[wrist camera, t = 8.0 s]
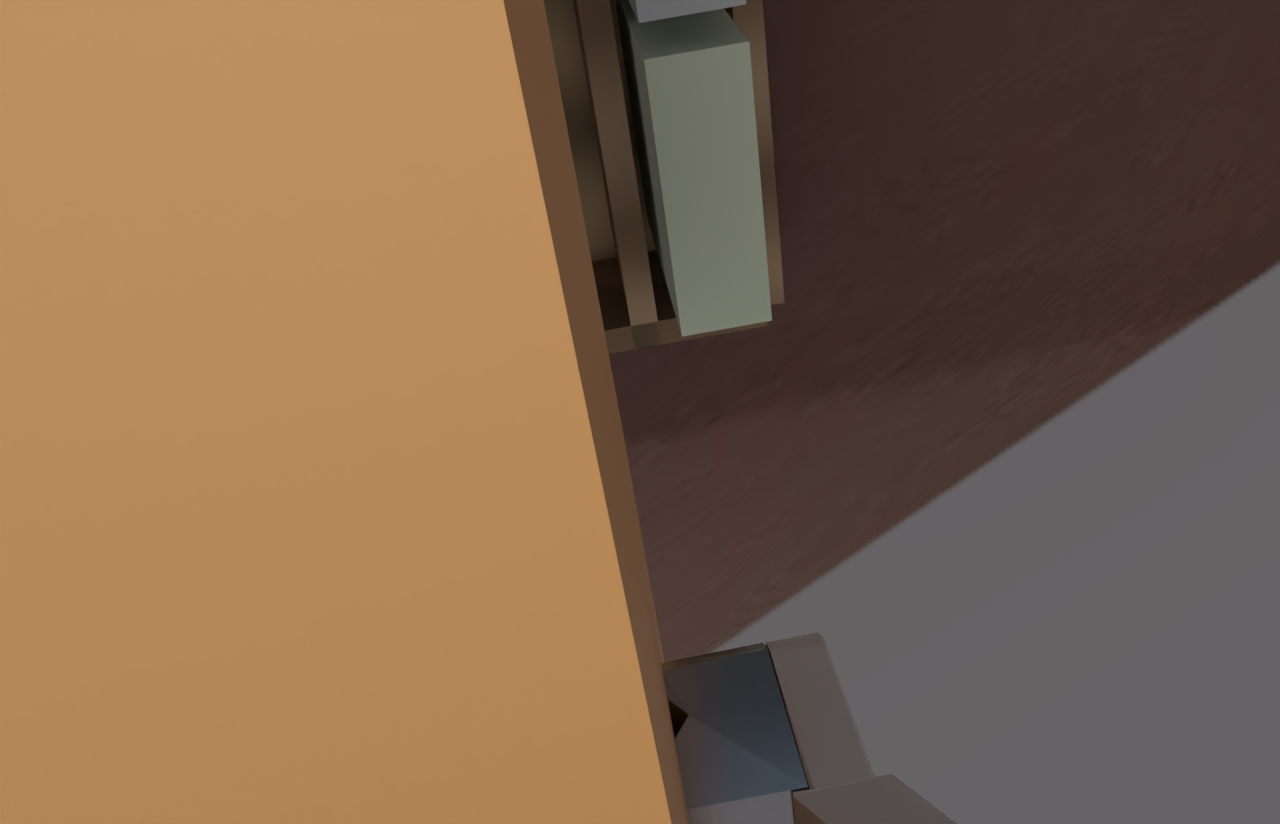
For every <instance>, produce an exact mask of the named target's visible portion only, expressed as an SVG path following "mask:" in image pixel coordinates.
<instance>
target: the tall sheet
mask: <svg viewBox="0 0 1280 824" xmlns="http://www.w3.org/2000/svg"><path fill="white" fill-rule="evenodd" d="M661 663H664V657H663V652H662V646H661V641H660V635H659V630H658V624H657V619H656V613H655V607H654V602H653V596H652V591H651V585H650V580H649V574H648V569H647V563H646V557H645V552H644V546H643V541H642V535H641V530H640V524H639V518H638V513H637V507H636V502H635V496H634V491H633V485H632V480H631V474H630V468H629V463H628V457H627V452H626V446H625V441H624V435H623V430H622V424H621V419H620V413H619V408H618V402H617V397H616V391H615V386H614V381H613V375H612V370H611V364H610V359H609V353H608V348H607V342H606V337H605V332H604V326H603V321H602V315H601V310H600V304H599V299H598V294H597V288H596V283H595V277H594V272H593V266H592V261H591V255H590V250H589V245H588V239H587V234H586V228H585V223H584V217H583V212H582V207H581V201H580V196H579V190H578V185H577V179H576V174H575V168H574V163H573V158H572V152H571V147H570V141H569V136H568V130H567V125H566V120H565V114H564V109H563V103H562V98H561V92H560V87H559V81H558V76H557V71H556V65H555V60H554V54H553V49H552V43H551V38H550V33H549V27H548V22H547V16H546V11H545V5H544V0H0V824H690V823H689V818H688V812H687V807H686V801H685V795H684V790H683V784H682V778H681V773H680V767H679V761H678V756H677V750H676V744H675V736H674V731H673V726H672V720H671V715H670V710H669V704H668V699H667V693H666V688H665V682H664V676H663V671H662V664H661Z"/></svg>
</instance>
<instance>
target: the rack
mask: <svg viewBox="0 0 1280 824" xmlns="http://www.w3.org/2000/svg"><path fill="white" fill-rule="evenodd" d="M544 5H545V11H546V16H547V22H548V27H549V33H550V38H551V43H552V49H553V54H554V60H555V65H556V71H557V76H558V81H559V87H560V92H561V98H562V103H563V109H564V114H565V120H566V125H567V130H568V136H569V141H570V147H571V152H572V158H573V163H574V168H575V174H576V179H577V185H578V190H579V196H580V201H581V207H582V212H583V217H584V223H585V228H586V234H587V239H588V245H589V250H590V255H591V261H592V266H593V272H594V277H595V283H596V288H597V294H598V299H599V304H600V310H601V315H602V321H603V326H604V332H605V337H606V342H607V348H608V353H609V354H612V353H618V352H623V351H629V350H635V349H640V348H646V347H651V346H657V345H663V344H668V343H674V342H679V341H685V340H691V339H696V338H702V337H707V336H713V335H719V334H724V333H730V332H735V331H741V330H747V329H752V328H758V327H763V326H767V322H761V323H756V324H750V325H744V326H739V327H733V328H728V329H722V330H716V331H711V332H705V333H699V334H694V335H688V336H683V337H682V335H681V332H680V328H679V325H678V322H677V318H676V315H675V311H674V308H673V304H672V301H671V298H670V294H669V291H668V287H667V284H666V280H665V277H664V273H663V270H662V267H661V263H660V260H659V256H658V253H657V249H656V246H655V243H654V239H653V236H652V232H651V229H650V225H649V222H648V219H647V213H646V206H645V199H644V193H643V186H642V179H641V172H640V165H639V159H638V152H637V145H636V138H635V132H634V125H633V118H632V111H631V104H630V98H629V91H628V84H627V77H626V71H625V64H624V57H623V50H622V44H621V37H620V30H619V23H618V16H617V10H616V3H615V0H544ZM724 9H725V11H726V12H727V13H728V14H729V16H730V17H731V18H732V20H733V21H734V22H735V23H736V25H737V26H738V27H739V29H740V30H741V31H742V33H743V34H744V35H745V36H746V38H747V39H748V40H749V43H750V55H751V68H752V80H753V92H754V105H755V117H756V129H757V142H758V154H759V166H760V179H761V191H762V203H763V216H764V228H765V240H766V253H767V265H768V277H769V290H770V302H771V305H774V304H780V303H785V302H784V288H783V274H782V261H781V247H780V233H779V219H778V206H777V192H776V178H775V164H774V151H773V137H772V123H771V109H770V96H769V82H768V68H767V54H766V41H765V27H764V13H763V0H746V5H740V6H734V7H729V8H724Z"/></svg>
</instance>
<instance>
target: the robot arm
mask: <svg viewBox="0 0 1280 824" xmlns="http://www.w3.org/2000/svg"><path fill="white" fill-rule="evenodd" d="M661 664H662V671H663V676H664V682H665V688H666V693H667V699H668V704H669V710H670V715H671V720H672V726H673V731H674V736H675V744H676V750H677V756H678V761H679V767H680V773H681V778H682V784H683V790H684V795H685V801H686V807H687V812H688V818H689V823H690V824H956V823H955V822H954V821H952V820H951V819H950V818H948V817H947V816H946V815H945V814H943V813H942V812H941V811H939V810H938V809H937V808H935V807H934V806H933V805H931V804H930V803H929V802H927V801H926V800H925V799H923V798H922V797H921V796H920V795H918V794H917V793H916V792H914V791H913V790H911V789H910V788H909V787H908V786H906V785H905V784H904V783H902V782H901V781H899V780H898V779H897V778H896V777H894V776H893V775H884V776H877V777H875V776H874V773H873V770H872V768H871V765H870V762H869V760H868V757H867V754H866V751H865V748H864V746H863V743H862V740H861V738H860V735H859V732H858V729H857V726H856V724H855V721H854V718H853V715H852V713H851V710H850V708H849V705H848V702H847V699H846V696H845V694H844V691H843V689H842V686H841V683H840V680H839V677H838V674H837V672H836V669H835V666H834V664H833V661H832V658H831V655H830V653H829V650H828V647H827V644H826V642H825V640H824V639H823V637H822V636H820V634H819V633H814V634H808V635H803V636H798V637H793V638H787V639H782V640H777V641H772V642H767V643H766V645H764V644H763V643H760V644H755V645H750V646H745V647H740V648H734V649H730V650H724V651H720V652H714V653H709V654H704V655H699V656H694V657H689V658H684V659H679V660H674V661H669V662H664V663H661Z"/></svg>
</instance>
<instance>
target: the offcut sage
mask: <svg viewBox="0 0 1280 824" xmlns="http://www.w3.org/2000/svg"><path fill="white" fill-rule="evenodd" d="M615 3H616V10H617V16H618V23H619V30H620V37H621V44H622V50H623V57H624V64H625V71H626V77H627V84H628V91H629V98H630V104H631V111H632V118H633V125H634V132H635V138H636V145H637V152H638V159H639V165H640V172H641V179H642V186H643V193H644V199H645V206H646V213H647V219H648V222H649V225H650V229H651V232H652V236H653V239H654V243H655V246H656V249H657V253H658V256H659V260H660V263H661V267H662V270H663V273H664V277H665V280H666V284H667V287H668V291H669V294H670V298H671V301H672V304H673V308H674V311H675V315H676V318H677V322H678V325H679V328H680V332H681V335H682V337H683V336H688V335H694V334H699V333H705V332H711V331H716V330H722V329H728V328H733V327H739V326H744V325H750V324H756V323H761V322H767V321H772V314H771V302H770V290H769V277H768V265H767V253H766V240H765V228H764V216H763V203H762V191H761V179H760V166H759V154H758V142H757V129H756V117H755V105H754V92H753V80H752V68H751V55H750V43H749V40H748V39H747V38H746V36H745V35H744V34H743V33H742V31H741V30H740V29H739V27H738V26H737V25H736V23H735V22H734V21H733V20H732V18H731V17H730V16H729V14H728V13H727V12H726V11H725V9H724V8H723V9H717V10H711V11H706V12H700V13H694V14H689V15H683V16H677V17H671V18H666V19H660V20H654V21H648V22H643V23H639V22H638V20H637V18H636V16H635V14H634V11H633V9H632V7H631V5H630V2H629V0H615Z"/></svg>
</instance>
